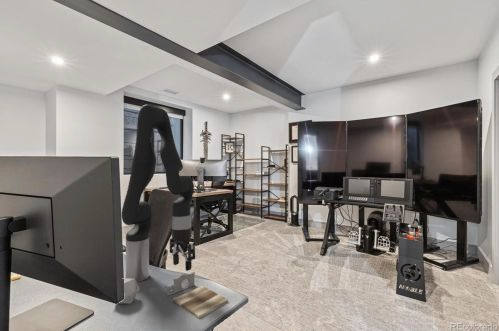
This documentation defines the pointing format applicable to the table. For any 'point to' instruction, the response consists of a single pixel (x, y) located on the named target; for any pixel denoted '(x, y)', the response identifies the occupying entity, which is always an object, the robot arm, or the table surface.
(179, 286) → the garden wall model
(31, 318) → the table surface
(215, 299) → the board
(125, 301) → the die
